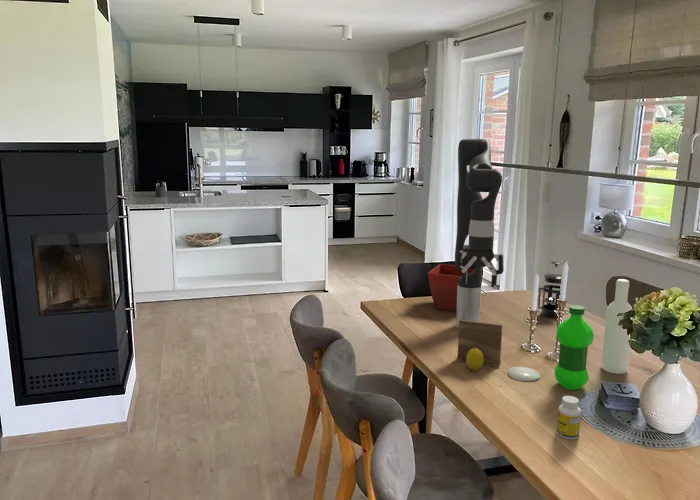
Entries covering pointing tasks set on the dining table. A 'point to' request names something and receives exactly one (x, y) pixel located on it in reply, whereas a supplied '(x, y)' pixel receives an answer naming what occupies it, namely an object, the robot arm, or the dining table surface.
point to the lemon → (475, 359)
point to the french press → (550, 294)
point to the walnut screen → (480, 341)
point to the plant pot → (445, 286)
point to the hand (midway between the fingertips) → (478, 285)
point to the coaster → (523, 374)
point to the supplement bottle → (569, 418)
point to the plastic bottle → (573, 349)
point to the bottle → (616, 332)
